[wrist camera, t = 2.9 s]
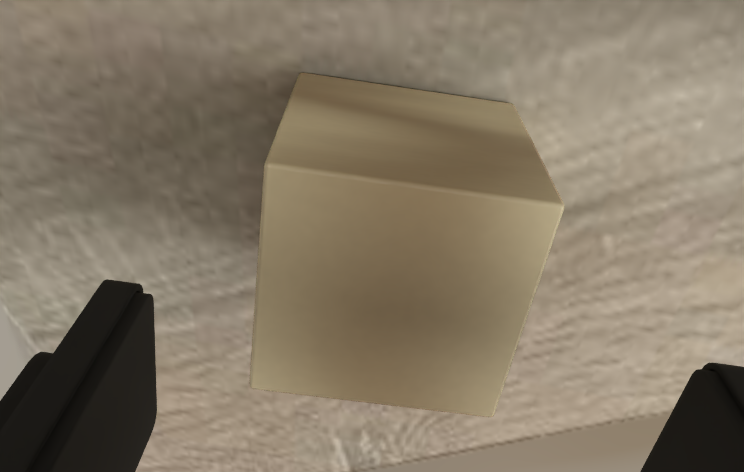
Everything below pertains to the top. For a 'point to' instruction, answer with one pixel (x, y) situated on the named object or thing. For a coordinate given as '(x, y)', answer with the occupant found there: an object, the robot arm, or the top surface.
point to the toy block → (398, 246)
